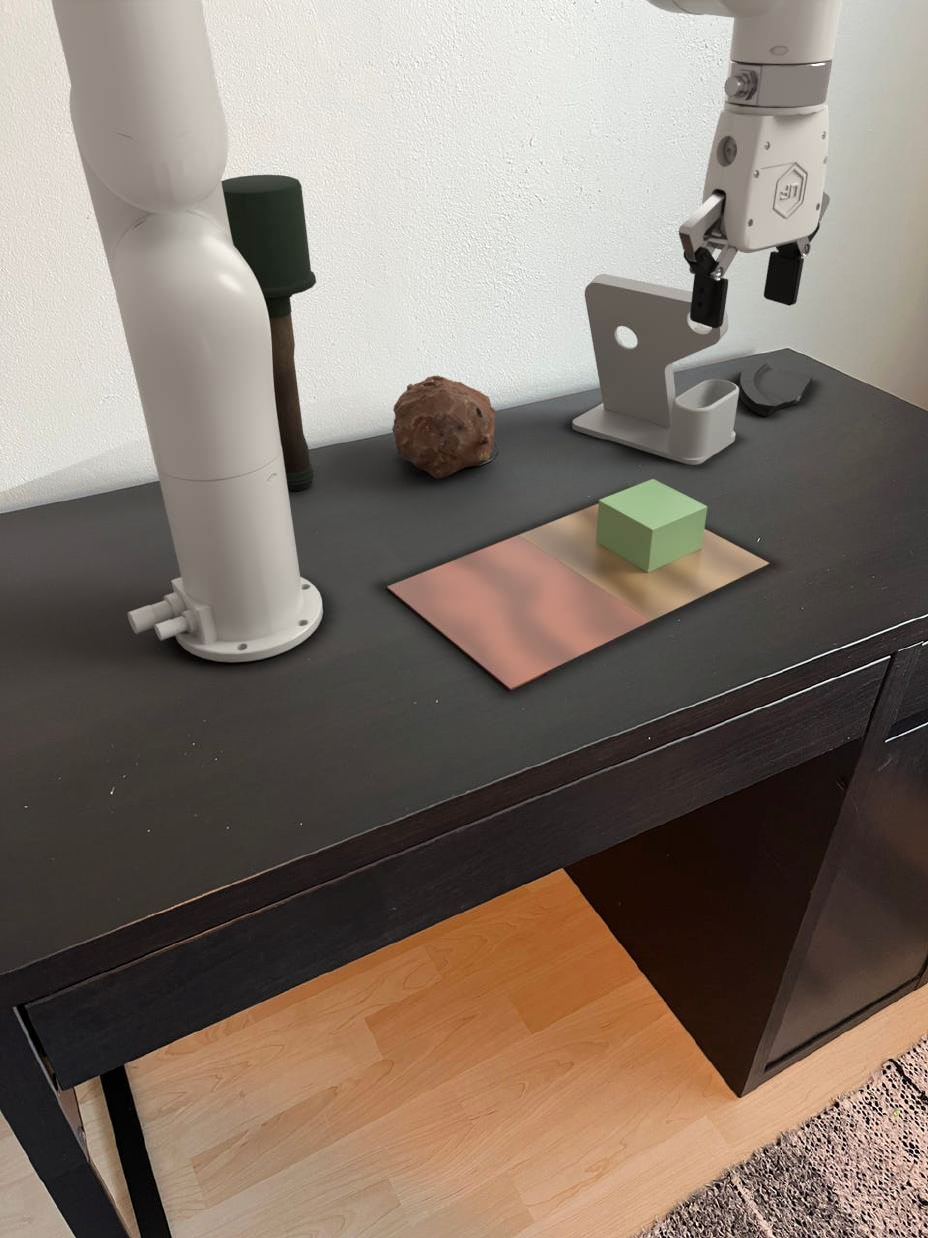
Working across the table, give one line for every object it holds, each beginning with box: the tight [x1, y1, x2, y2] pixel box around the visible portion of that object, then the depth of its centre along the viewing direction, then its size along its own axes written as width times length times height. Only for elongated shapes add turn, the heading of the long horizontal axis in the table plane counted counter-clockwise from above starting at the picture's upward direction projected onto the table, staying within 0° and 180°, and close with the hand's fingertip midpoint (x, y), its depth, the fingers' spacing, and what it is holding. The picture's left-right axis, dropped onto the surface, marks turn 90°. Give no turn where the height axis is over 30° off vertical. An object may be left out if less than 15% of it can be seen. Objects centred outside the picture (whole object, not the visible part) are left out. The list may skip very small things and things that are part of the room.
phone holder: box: [571, 273, 740, 466], centre depth 106 cm, size 17×10×18 cm, turn 49°
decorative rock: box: [391, 375, 497, 479], centre depth 103 cm, size 13×11×10 cm
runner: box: [386, 503, 770, 691], centre depth 87 cm, size 30×18×1 cm, turn 126°
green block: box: [596, 478, 708, 573], centre depth 89 cm, size 7×7×4 cm
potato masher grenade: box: [221, 174, 317, 492], centre depth 94 cm, size 8×9×30 cm
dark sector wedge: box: [738, 360, 813, 417], centre depth 120 cm, size 8×14×2 cm, turn 150°
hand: (743, 312), depth 83 cm, fingers open, 9 cm apart
